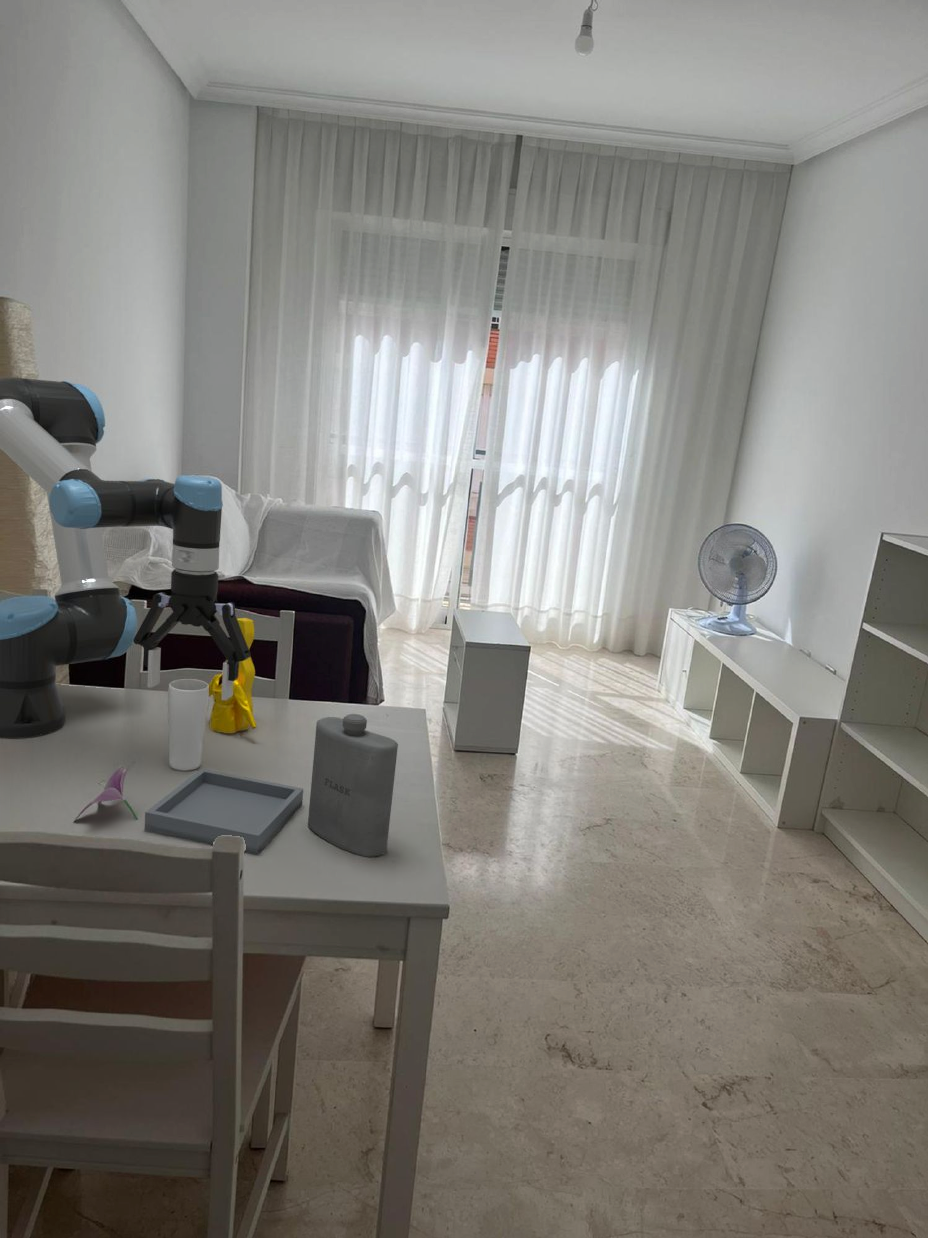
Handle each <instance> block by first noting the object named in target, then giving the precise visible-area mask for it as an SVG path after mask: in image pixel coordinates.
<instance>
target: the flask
mask: <svg viewBox="0 0 928 1238" xmlns="http://www.w3.org/2000/svg"><path fill="white" fill-rule="evenodd" d="M367 723H368V720H367V718H366V717H364V715H362V714H356V713H351V714H346V715H345V716H343V718H340V717H336V716H328V717H327V716H326V717H322V718H320V719H318V720H317V721H316V724H315V725H316V727H315V737H314V739H315V740H314V750H313V760H312V772H311V781H310V794H309V796H310V797H309V806H308V819H307V824H308V825H307V826H308V828H309V829H310V830H311V831H312V832H313V833H315V834H316V835H317V836H319V837H321V839H323V840H325V841H326V842H329V844H332V845H334V846H336V847H338V848H341V849H343V850H345V851H348V852H350V853H352V854H356V855H359V856H362V857H368V858H370V857H371V858H373V857H380V856H382V855H384V854H385V853H386V852H387V849H388V841H389V831H390V822H391V812H392V803H393V794H394V784H395V775H396V765H397V758H398V749H399V747H398V746H399V743H397V741H396V740H394V739H392V738H390V737H387V736H385V735H380V734H379V733H378V734H377V733H374V732H372V731H369V730H366V729H367V726H368V725H367Z"/></svg>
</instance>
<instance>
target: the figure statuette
mask: <svg viewBox="0 0 928 1238" xmlns="http://www.w3.org/2000/svg"><path fill="white" fill-rule="evenodd" d="M237 621H238V623H239V626H240V628H241V631H242V633H243V636H244V638H245V641H246V643H247V646H248V648H249V650H250V649H251V646H252V644H253V642H254V639H255V635H256V634H255V633H256V632H255V625H254V623H255V622H254V620H253V619H250V618H248V617H240V618H237ZM226 661H228V660H227V659H226V660H225V661H224V662H226ZM255 669H256V668H255V665H254V663H253V659H252V657H251V656H250V657H249V658H248V659H246V660H244V661H240V662H239V674H238V678H237V679H236V680H235V681H233V694H232V697H230V698H229V699H227V700H221V697H222V678H223V672H221V674H220V673H217V674H216V675H214V676H213V677H212V678H211V680H210V682H209V683H208V685H209V698H210V697H211V696H212V698H213V705H212V709H211V714H210V719H209V729H210V730H211V729H212V730H211V731H213V730H214V732H217V733H224V734H234V733H236V732H239V731H244V730H248V729H249V728H250V727H251V729H254V730H255V728H257V724H256V720H255V716H254V715H253V713H254V705H253V698H252V687H253V685H254V680H255V677H256V676H255V675H256V670H255Z"/></svg>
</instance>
